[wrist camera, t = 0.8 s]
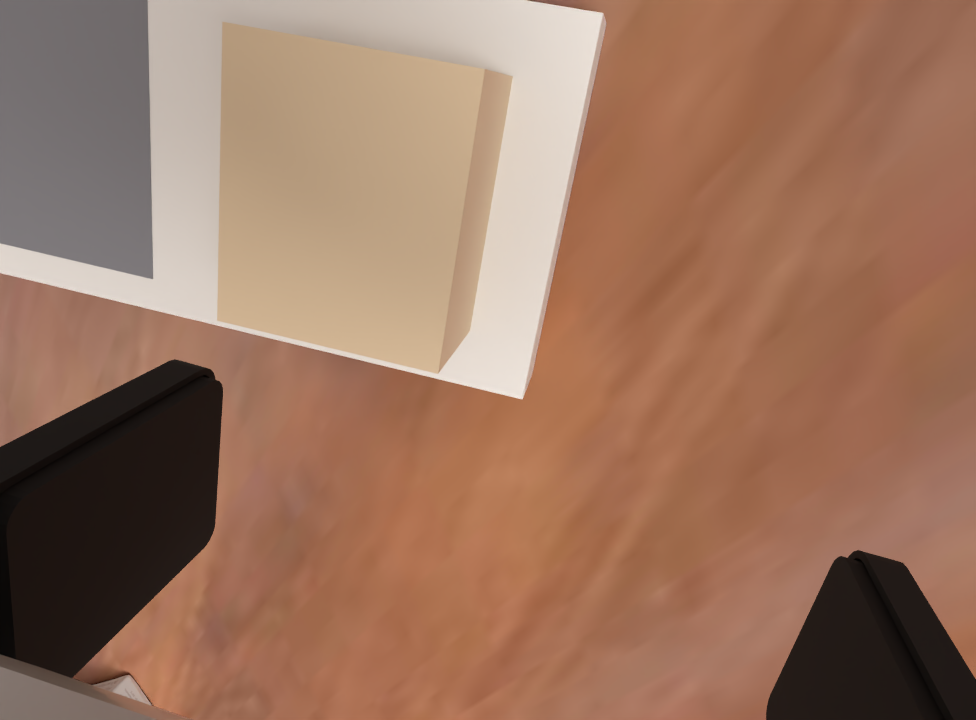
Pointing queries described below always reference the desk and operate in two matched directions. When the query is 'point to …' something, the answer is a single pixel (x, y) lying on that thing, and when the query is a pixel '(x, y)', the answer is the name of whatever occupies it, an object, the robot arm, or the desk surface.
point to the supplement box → (124, 688)
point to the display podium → (196, 148)
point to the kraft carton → (354, 193)
